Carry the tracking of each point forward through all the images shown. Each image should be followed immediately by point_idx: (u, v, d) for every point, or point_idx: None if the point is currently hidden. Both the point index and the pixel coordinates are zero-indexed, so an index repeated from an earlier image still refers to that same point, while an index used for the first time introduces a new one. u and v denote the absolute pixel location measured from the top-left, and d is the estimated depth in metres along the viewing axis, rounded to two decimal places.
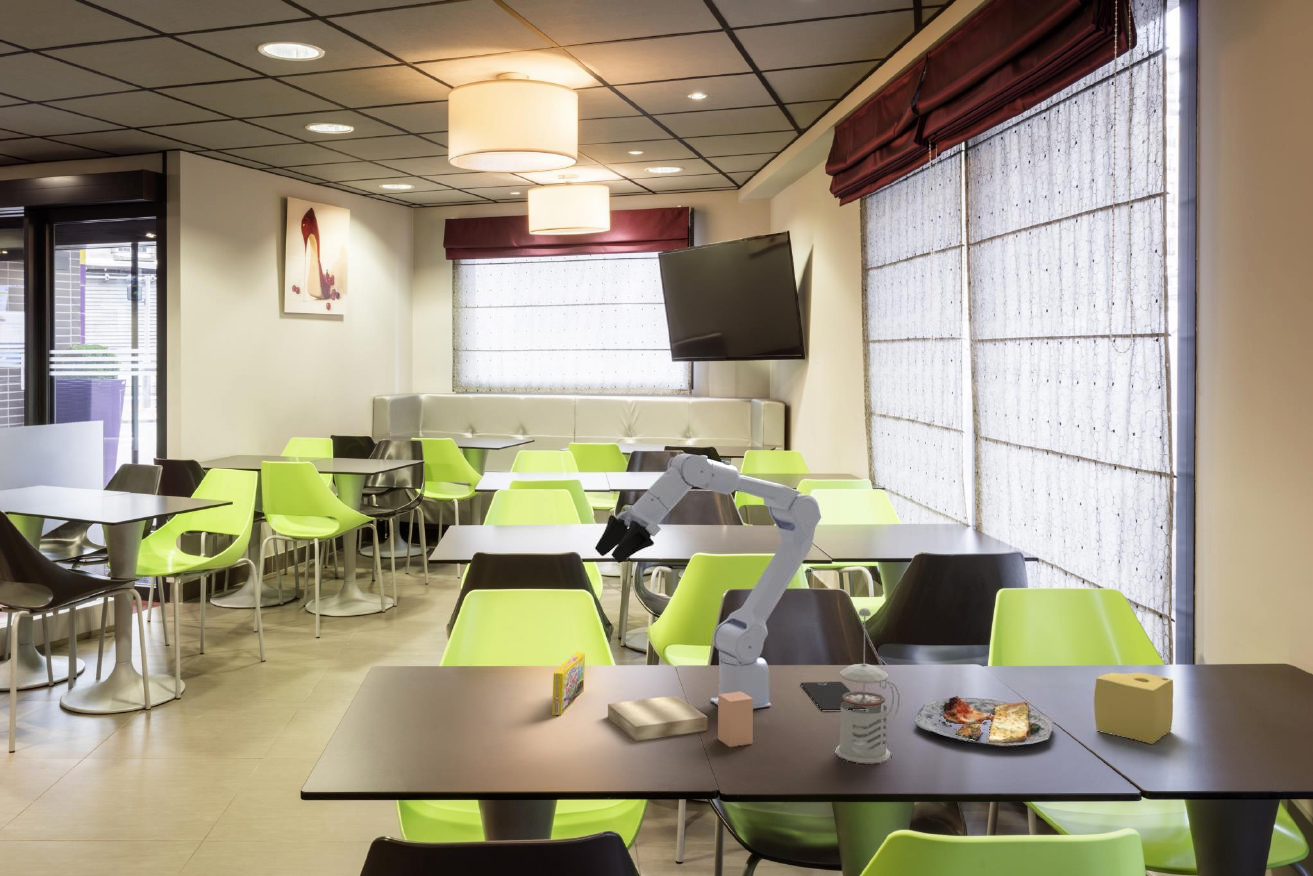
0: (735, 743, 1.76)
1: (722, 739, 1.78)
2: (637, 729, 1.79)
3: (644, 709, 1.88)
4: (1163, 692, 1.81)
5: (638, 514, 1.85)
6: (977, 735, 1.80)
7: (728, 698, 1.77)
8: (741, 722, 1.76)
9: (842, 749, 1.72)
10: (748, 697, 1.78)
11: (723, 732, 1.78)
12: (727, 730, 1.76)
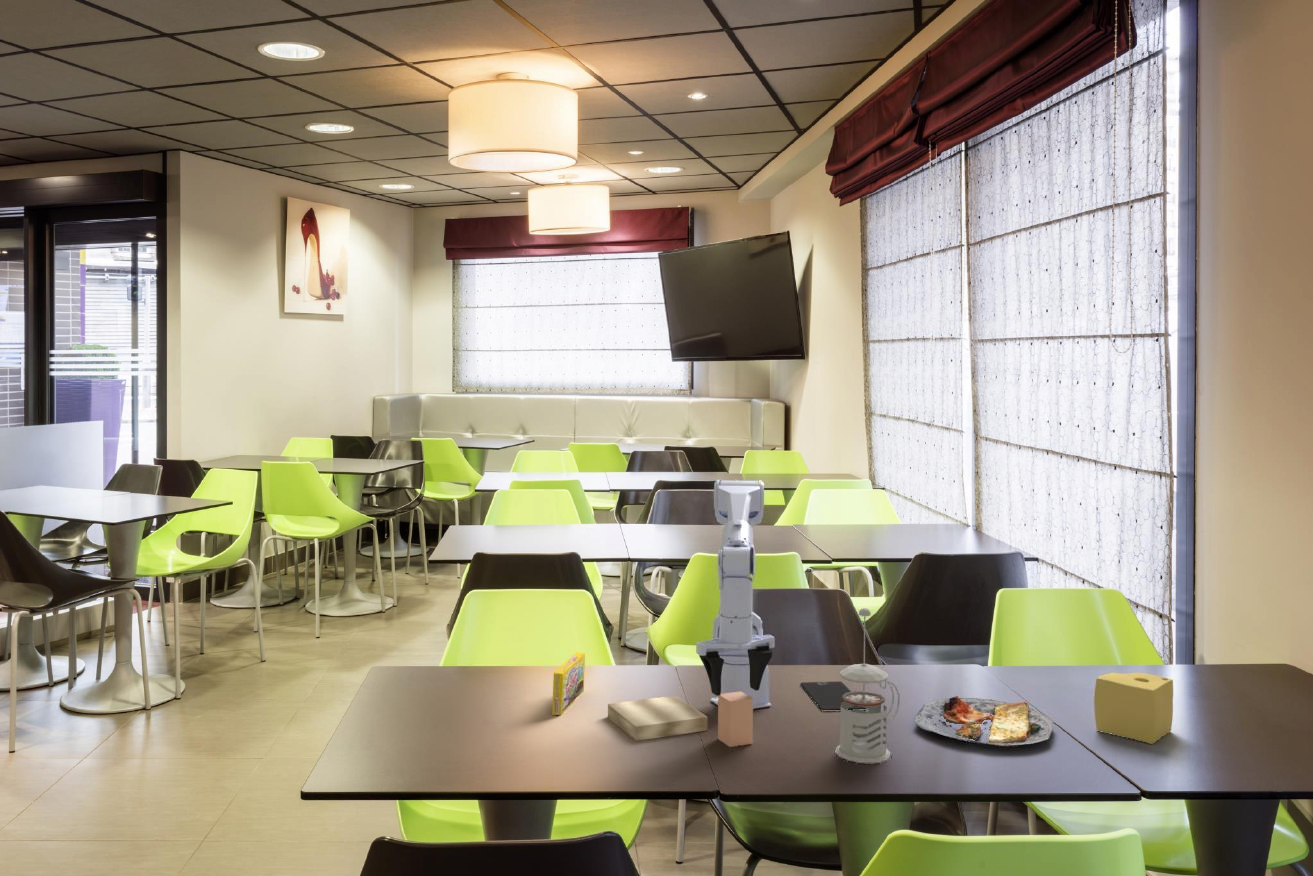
0: (735, 743, 1.76)
1: (722, 739, 1.78)
2: (637, 729, 1.79)
3: (644, 709, 1.88)
4: (1163, 692, 1.81)
5: (755, 642, 1.77)
6: (977, 735, 1.80)
7: (728, 698, 1.77)
8: (741, 722, 1.76)
9: (842, 749, 1.72)
10: (748, 697, 1.78)
11: (723, 732, 1.78)
12: (727, 730, 1.76)
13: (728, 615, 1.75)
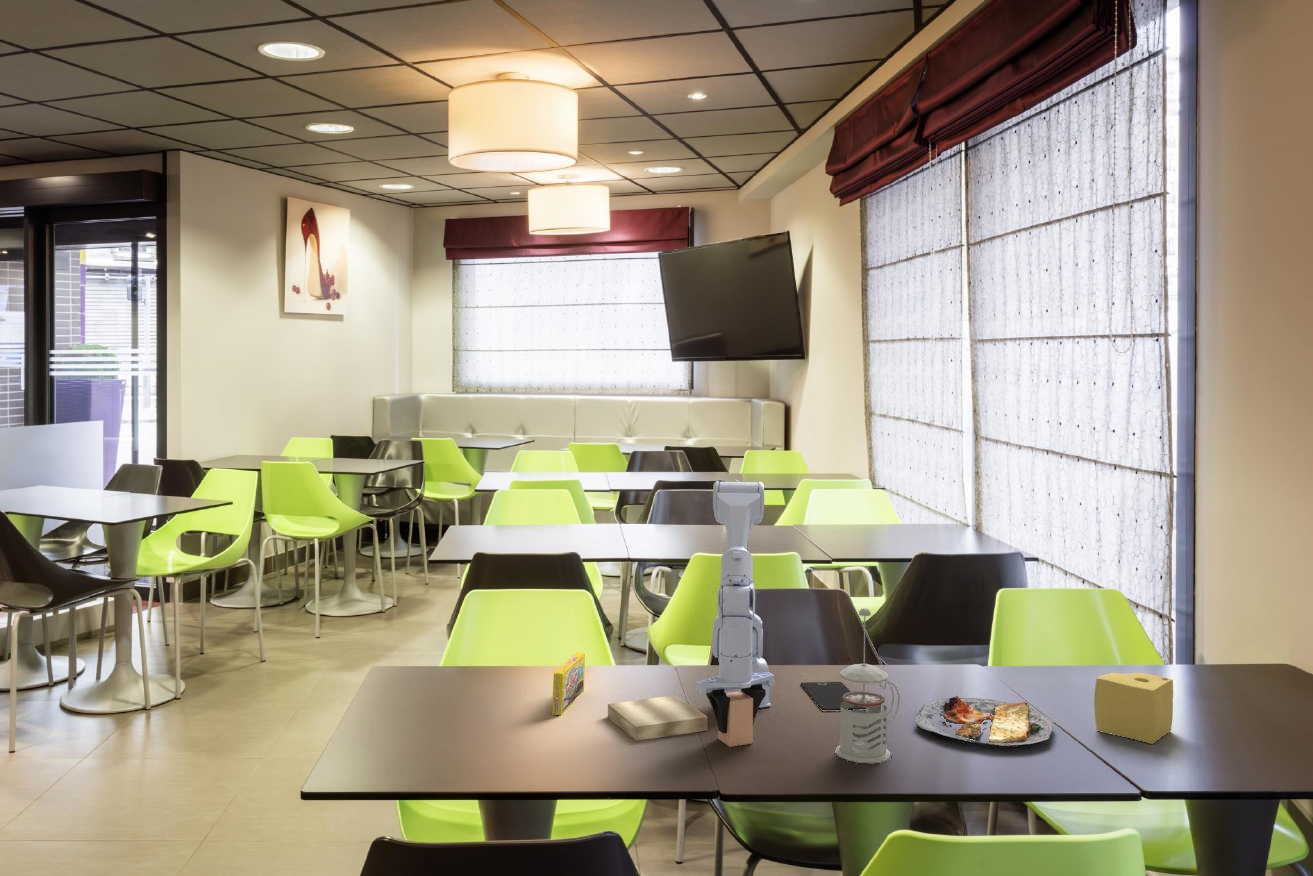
0: (735, 743, 1.76)
1: (722, 739, 1.78)
2: (637, 729, 1.79)
3: (644, 709, 1.88)
4: (1163, 692, 1.81)
5: (755, 681, 1.77)
6: (977, 735, 1.80)
7: None
8: (741, 722, 1.76)
9: (842, 749, 1.72)
10: (748, 697, 1.78)
11: None
12: (728, 730, 1.76)
13: (728, 654, 1.76)
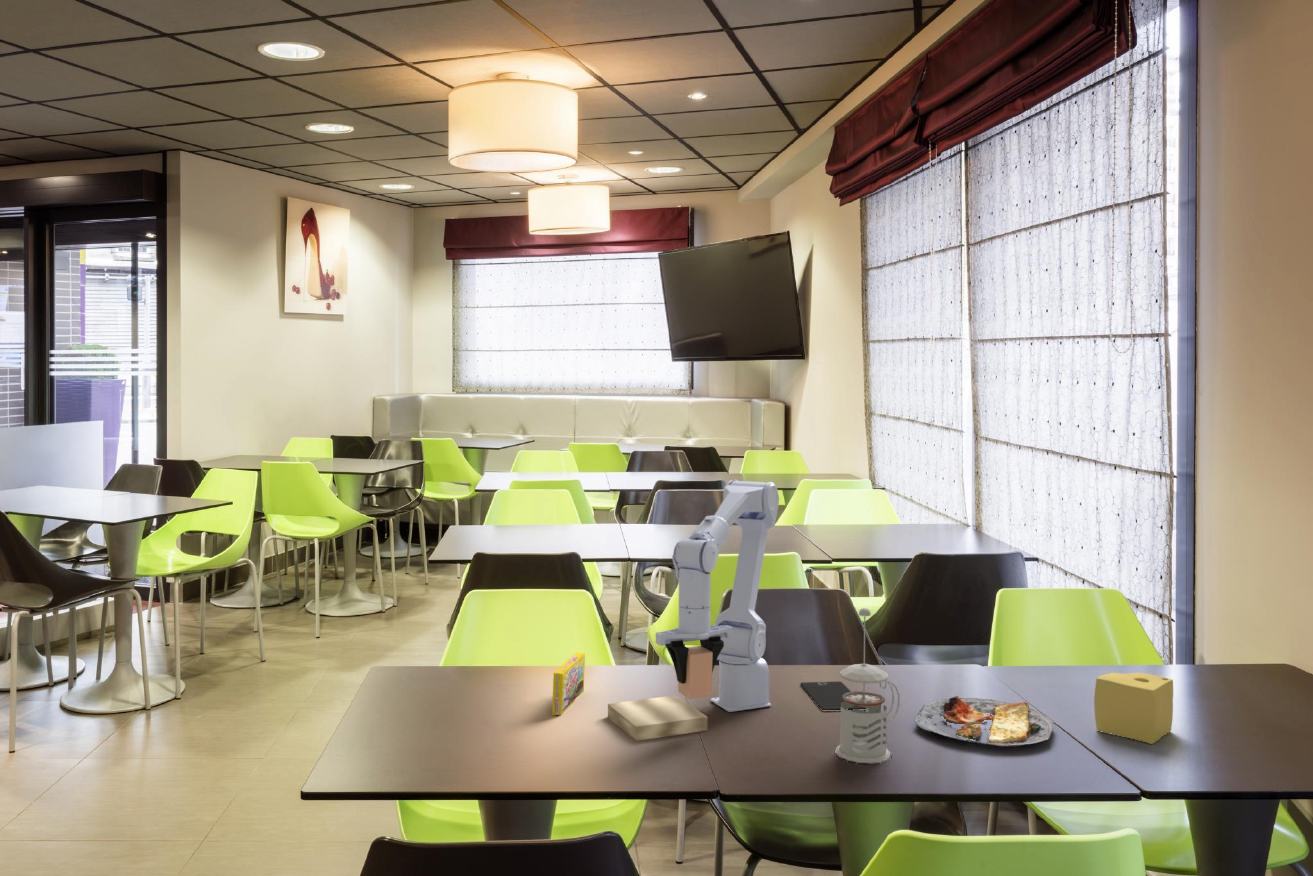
0: (695, 696, 1.80)
1: (682, 692, 1.82)
2: (637, 729, 1.79)
3: (644, 709, 1.88)
4: (1163, 692, 1.81)
5: (713, 632, 1.82)
6: (977, 735, 1.80)
7: (688, 652, 1.81)
8: (700, 675, 1.81)
9: (842, 749, 1.72)
10: (708, 651, 1.82)
11: (683, 685, 1.82)
12: (687, 683, 1.80)
13: (681, 605, 1.81)
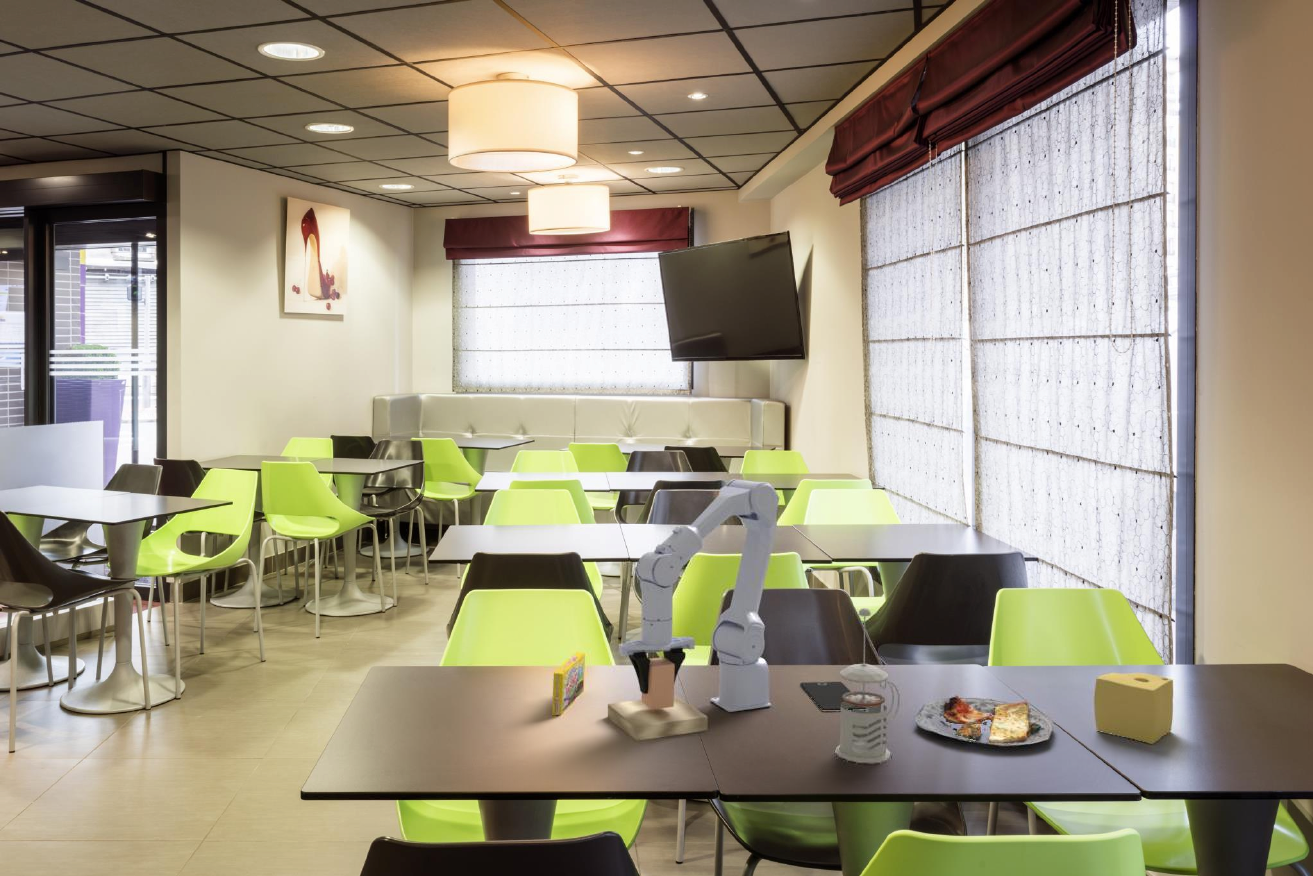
0: (657, 706, 1.85)
1: (645, 702, 1.87)
2: (637, 729, 1.79)
3: (644, 709, 1.88)
4: (1163, 692, 1.81)
5: (675, 644, 1.86)
6: (977, 735, 1.80)
7: (651, 664, 1.85)
8: (662, 687, 1.85)
9: (842, 749, 1.72)
10: (670, 663, 1.86)
11: (646, 696, 1.87)
12: (649, 694, 1.85)
13: None
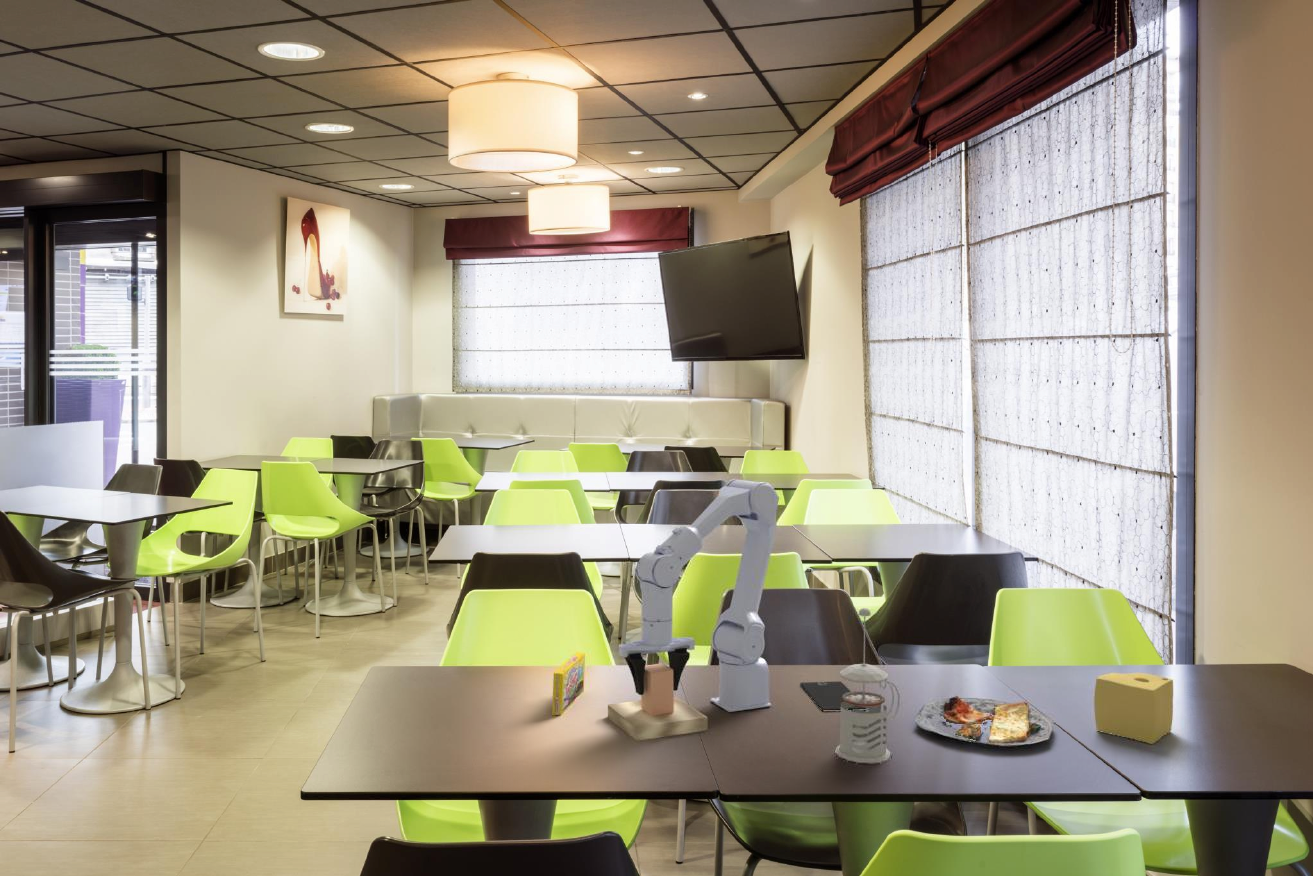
0: (657, 713, 1.85)
1: (645, 709, 1.87)
2: (637, 730, 1.79)
3: None
4: (1163, 692, 1.81)
5: (675, 645, 1.86)
6: (977, 735, 1.80)
7: (650, 670, 1.86)
8: (662, 693, 1.85)
9: (842, 749, 1.72)
10: (669, 669, 1.86)
11: (646, 702, 1.87)
12: (649, 700, 1.85)
13: None
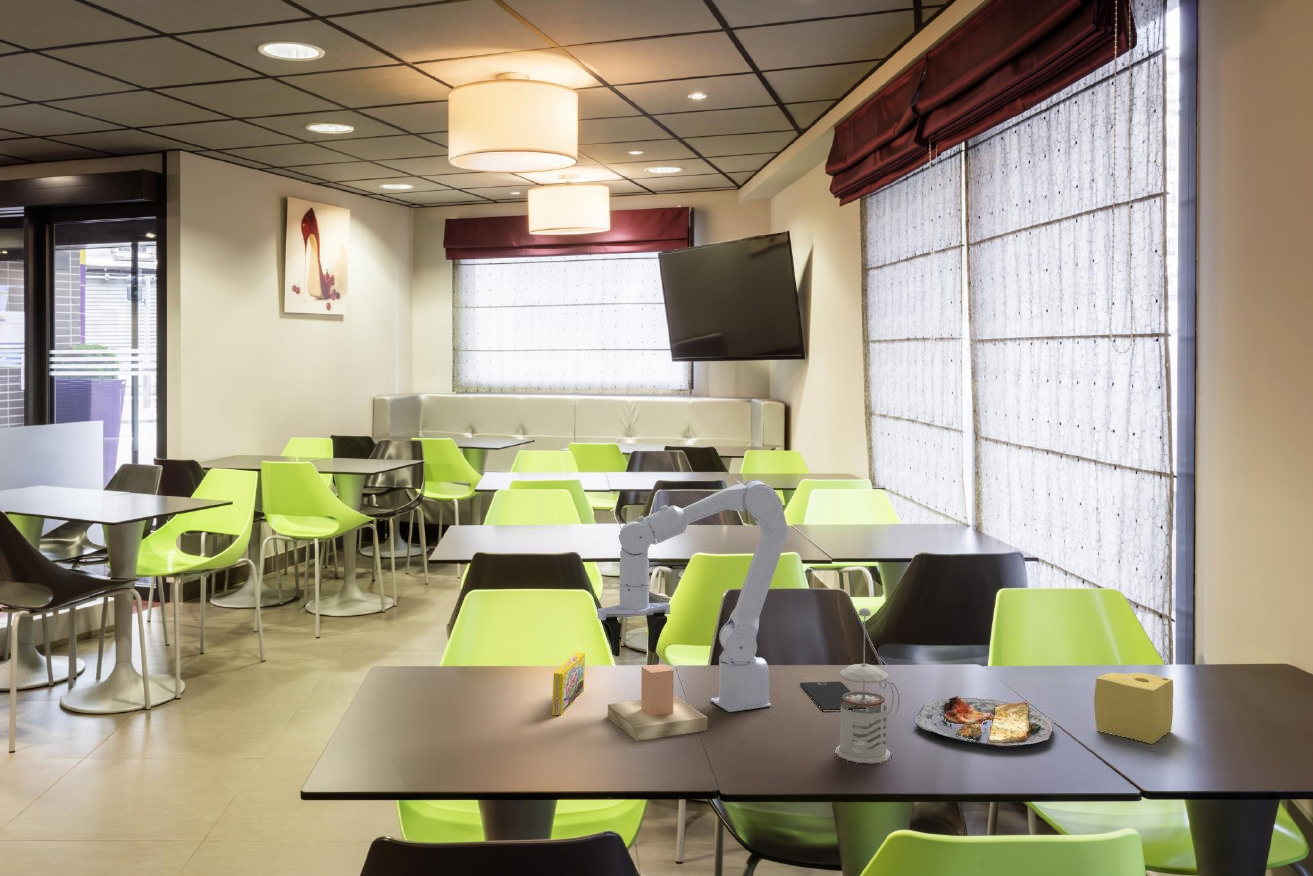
0: (656, 713, 1.85)
1: (645, 709, 1.87)
2: (637, 730, 1.79)
3: None
4: (1163, 692, 1.81)
5: (651, 609, 1.96)
6: (977, 735, 1.80)
7: (650, 670, 1.86)
8: (662, 693, 1.85)
9: (842, 749, 1.72)
10: (669, 669, 1.86)
11: (645, 703, 1.87)
12: (649, 700, 1.85)
13: None
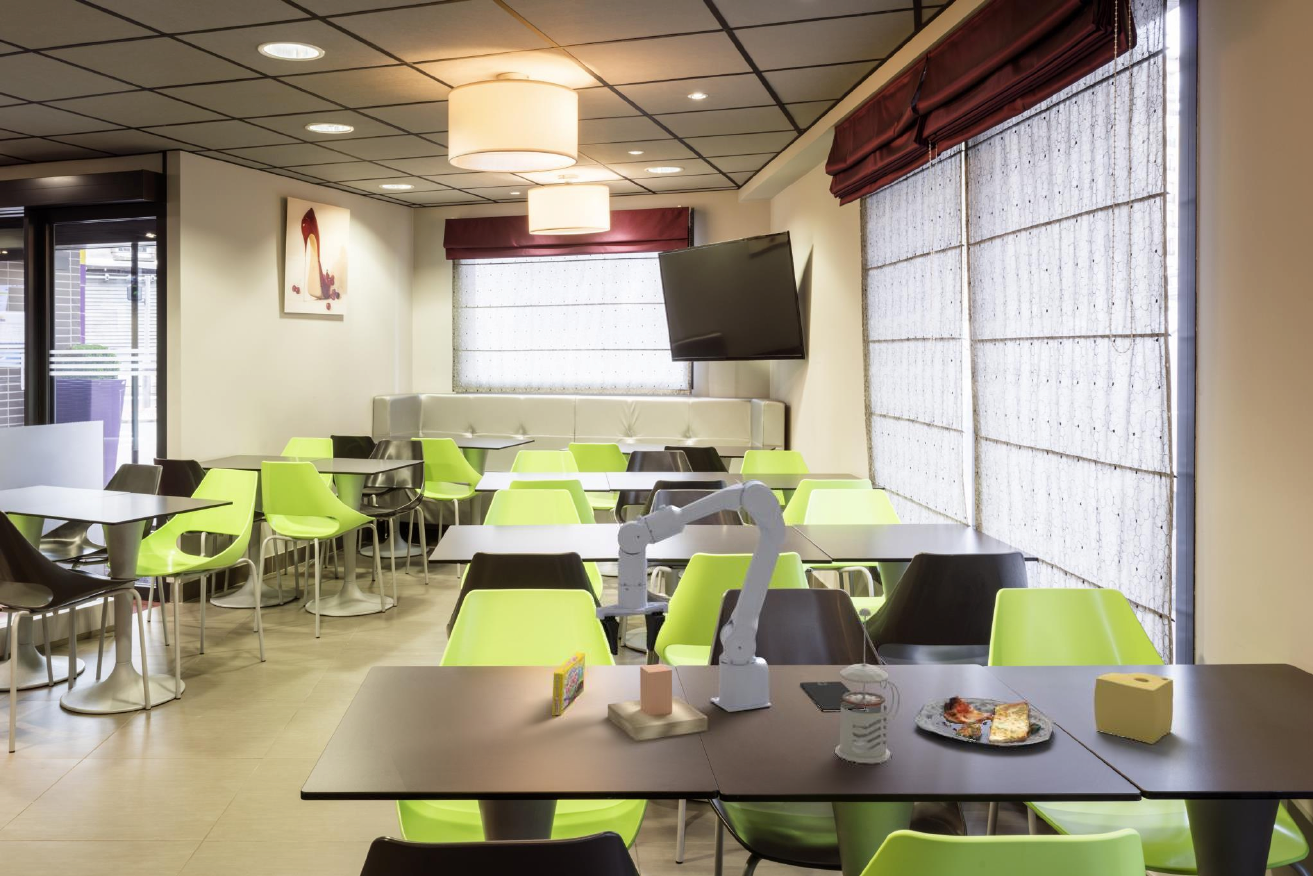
0: (655, 713, 1.85)
1: (643, 709, 1.87)
2: (637, 730, 1.79)
3: None
4: (1163, 692, 1.81)
5: (649, 608, 1.97)
6: (977, 735, 1.80)
7: (648, 670, 1.86)
8: (660, 693, 1.85)
9: (842, 749, 1.72)
10: (668, 669, 1.86)
11: (644, 702, 1.87)
12: (647, 700, 1.85)
13: None
